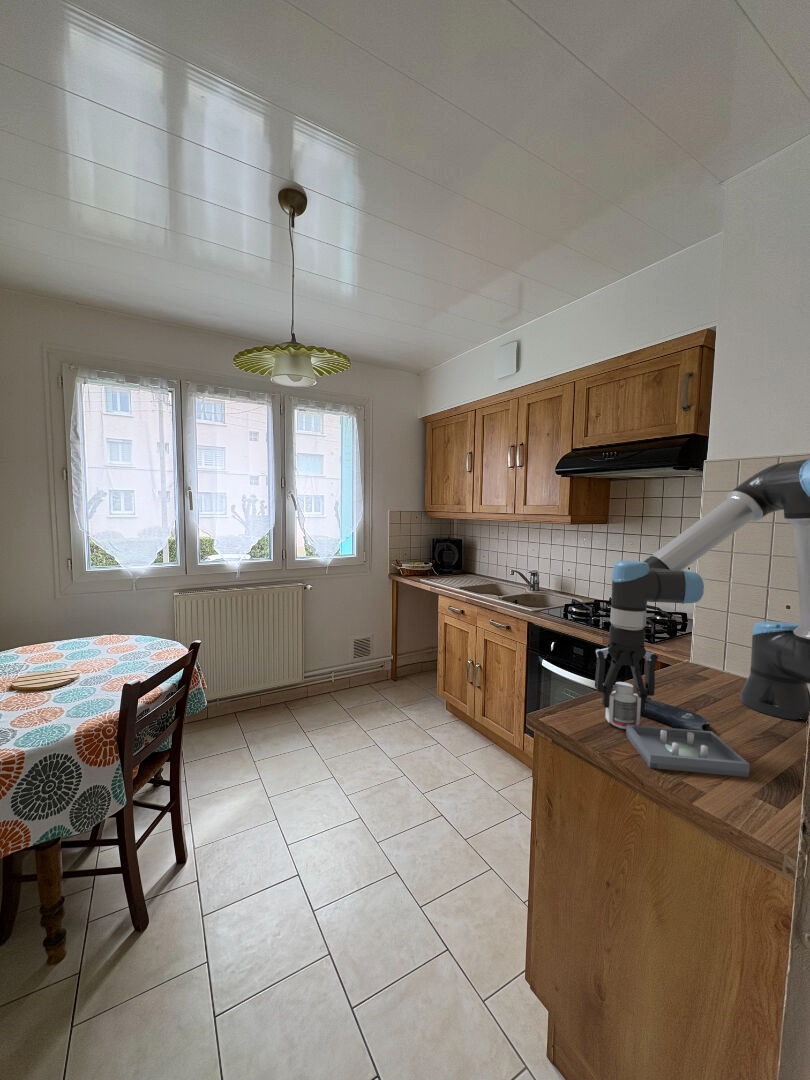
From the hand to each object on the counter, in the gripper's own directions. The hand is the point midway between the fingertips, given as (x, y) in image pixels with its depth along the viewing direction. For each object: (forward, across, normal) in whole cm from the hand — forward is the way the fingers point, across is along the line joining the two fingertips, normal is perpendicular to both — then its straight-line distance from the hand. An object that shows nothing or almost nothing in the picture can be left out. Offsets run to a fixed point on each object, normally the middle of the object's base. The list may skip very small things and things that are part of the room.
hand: (622, 721), depth 105 cm
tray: (+1, -8, +12) cm, 14 cm away
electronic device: (+1, -13, -5) cm, 14 cm away
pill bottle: (+1, 0, 0) cm, 1 cm away
